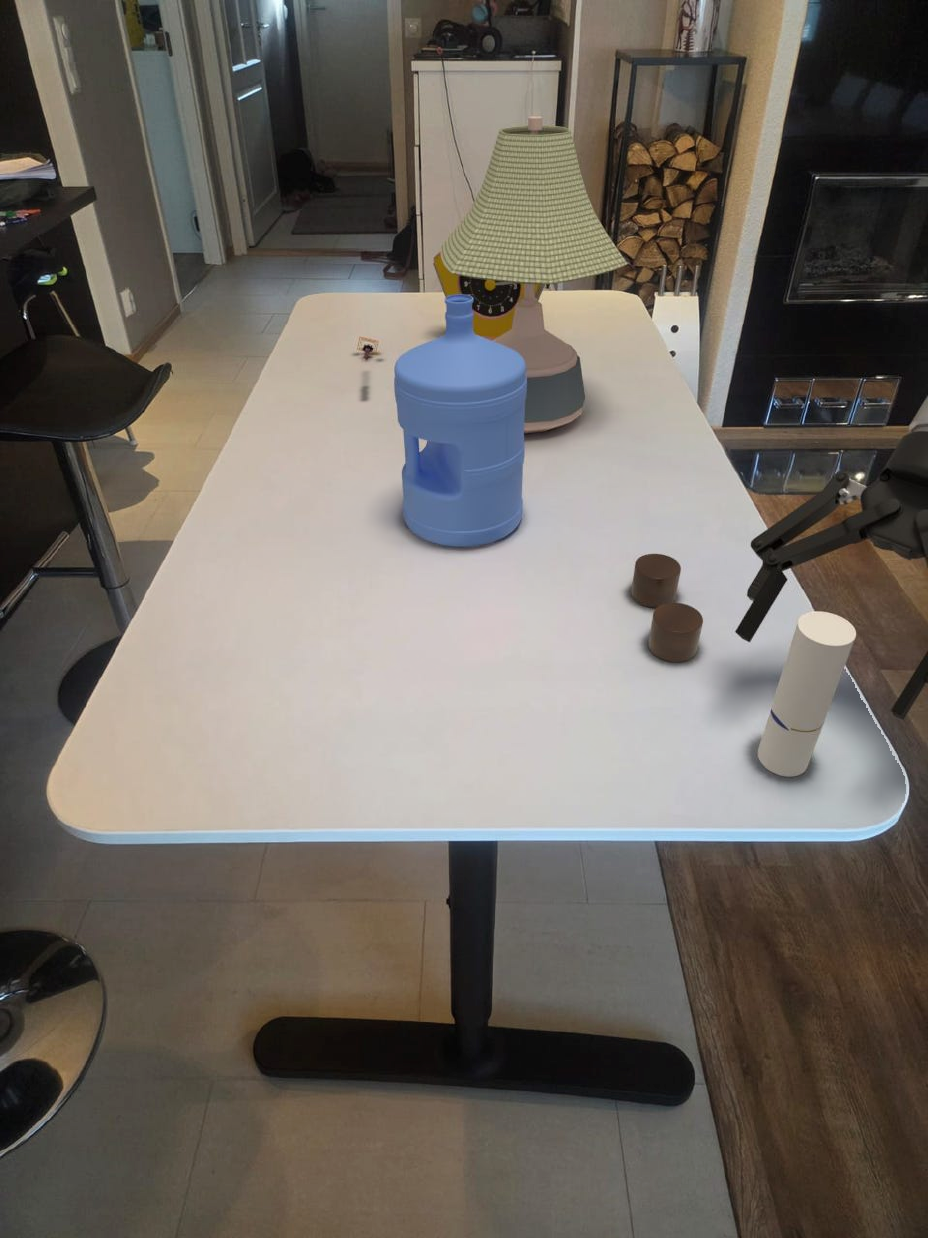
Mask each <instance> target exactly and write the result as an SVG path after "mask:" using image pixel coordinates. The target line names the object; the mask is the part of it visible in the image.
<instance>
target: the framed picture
mask: <svg viewBox="0 0 928 1238" xmlns="http://www.w3.org/2000/svg"><path fill="white" fill-rule="evenodd" d="M364 341H365V342H369V344H365V343H364V345H363V342H364ZM370 343H372V344H370ZM373 345H374V346H373ZM378 345H379V340H375V339H372V338H367V337H363V336H359V338H358V344H357V347H356V350H357V351H361V352H364V354H363V356H364V357H365V358H369V356H370V354H374V355H376V353H377V352H378V351H377V350H378ZM362 346H363V347H362Z"/></svg>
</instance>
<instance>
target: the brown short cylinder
mask: <svg viewBox="0 0 928 1238" xmlns="http://www.w3.org/2000/svg"><path fill="white" fill-rule="evenodd" d="M681 571H682V566H681V564H680V563H679V561H678V560H677V559H675V558H673V557H671V556H670V555H666V554H662V553H647V554H644V555H641V556H639V557H638V558H637V559H636V560H635V563H634V569H633V577H632V583H631V591H630V594H631V598H632V599H633V600H634V601H635V602H636V603H638V604H639V605H641V606H644V607H647V608H653V609H656V608H657V607H658V606H660V605H662V604H666V603H675V601H676V599H677V595H678V594H677V593H678V587H679V582H680V578H681V577H680V576H681Z"/></svg>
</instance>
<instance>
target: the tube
mask: <svg viewBox="0 0 928 1238" xmlns="http://www.w3.org/2000/svg"><path fill="white" fill-rule="evenodd" d="M856 637H857V631H856V628H855V627H854V626H853V624H852V623H851V622H849V621H848V619H846V618H844V617H842V616H840V615H838V614H835V613H832V612H827V611H810V612H806V613H803V614H802V615H801V616H800V617H799V618H798V620H797V623H796V625H795V629H794V632H793V636H792V638H791V642H790V645H789V649H788V652H787V655H786V658H785V662H784V664H783V668H782V671H781V674H780V678H779V681H778V685H777V687H776V691H775V695H774V698H773V700H772V704H771V707H770V710H769V712H768V713H769V714H768V716H767V720H766V722H765V723H766V724H765V727H764V730H763V733H762V737H761V740H760V742H759V746H758V750H757V758H758V760H759V762H760V764H761V765H762V766H763V767H764V768H765V769H767V771H769V772H771V773H773V774H775V775H778V776H781V777H786V778H789V777H797V776H801V775H802V774H804V773H805V772H806V770H807V769H808V766H809V764H810V762H811V758H812V756H813V753H814V751H815V748H816V746H817V743H818V739H819V737H820V734H821V732H822V729H823V726H824V723H825V720H826V718H827V716H828V712H829V710H830V707H831V705H832V702H833V700H834V697H835V694H836V691H837V689H838V686H839V683H840V681H841V678H842V675H843V673H844V669H845V667H846V664H847V662H848V659H849V656H850V654H851V651H852V648H853V646H854V643H855V640H856Z"/></svg>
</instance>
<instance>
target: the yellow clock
mask: <svg viewBox="0 0 928 1238" xmlns="http://www.w3.org/2000/svg"><path fill="white" fill-rule="evenodd" d="M432 264H433V267H434V271H435V272H436V275H437V278H438V282H439V284H440V286H441V289H442V291H443V294H444V298H446V297H447V296H450V295H456V294H464V295H469V296H472V297H473V303H472V312H473V317H474V318H473V331H474V333H475V334H476V335H478V336H481V337H483V338H486V339H489V340H491V341H493V340H494V339H496V338H498V337H499V336H501V335H503V334H504V333H506V332H508V331H509V330H511V329H512V324H513V318H514V313H515V307H516V304H517V303H518V302H521V298H523V297H524V284H523V283H513V282H502V281H493V280H485V279H477V278H471V277H465V276H460V275H454V274H452V273H451V272H450V271H449V270H448V269H447V268H446V267H445V265H444V263H443V261H442V258H441V250H440V251H439V252H437V254H436V255H434V256H433V263H432ZM545 285H546V284H535V298H537V302H540V298H541V296H542V294H543V291H544V289H545Z"/></svg>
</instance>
